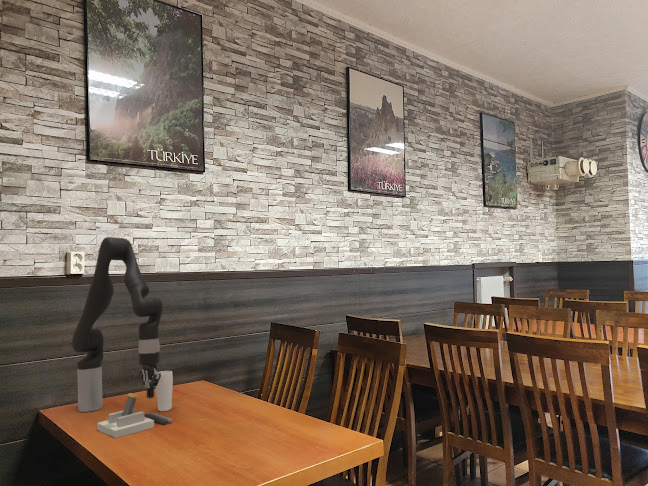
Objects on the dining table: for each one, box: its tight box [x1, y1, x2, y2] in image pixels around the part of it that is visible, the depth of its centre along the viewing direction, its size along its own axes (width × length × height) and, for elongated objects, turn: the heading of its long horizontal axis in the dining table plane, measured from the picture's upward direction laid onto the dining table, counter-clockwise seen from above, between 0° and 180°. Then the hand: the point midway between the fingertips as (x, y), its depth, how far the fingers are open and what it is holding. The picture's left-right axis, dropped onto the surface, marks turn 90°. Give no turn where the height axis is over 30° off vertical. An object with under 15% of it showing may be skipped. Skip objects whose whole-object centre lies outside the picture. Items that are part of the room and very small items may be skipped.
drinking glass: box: [155, 370, 174, 412], centre depth 199 cm, size 7×7×15 cm
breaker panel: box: [96, 408, 155, 439], centre depth 176 cm, size 15×14×6 cm
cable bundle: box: [144, 411, 173, 425], centre depth 185 cm, size 16×4×2 cm, turn 47°
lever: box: [121, 392, 139, 417], centre depth 177 cm, size 5×2×9 cm, turn 47°
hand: (150, 397), depth 183 cm, fingers closed
